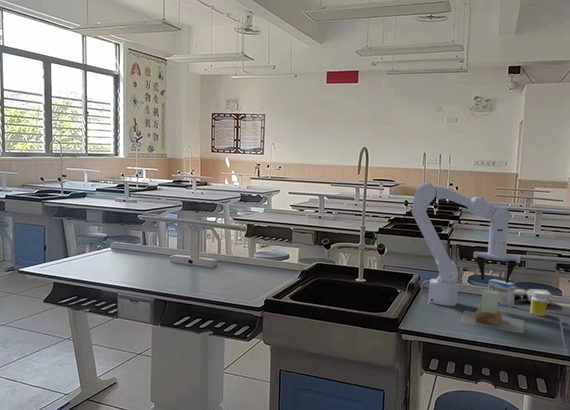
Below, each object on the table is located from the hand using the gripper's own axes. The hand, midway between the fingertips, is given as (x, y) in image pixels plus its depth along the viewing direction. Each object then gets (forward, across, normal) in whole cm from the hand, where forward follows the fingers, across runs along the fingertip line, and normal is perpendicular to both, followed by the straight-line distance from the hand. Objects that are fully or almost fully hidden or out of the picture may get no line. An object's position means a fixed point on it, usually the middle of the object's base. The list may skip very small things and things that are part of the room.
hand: (494, 280), depth 168 cm
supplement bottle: (+11, +14, +1) cm, 17 cm away
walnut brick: (+9, 0, -16) cm, 19 cm away
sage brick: (+6, 0, -16) cm, 17 cm away
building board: (+10, +1, -16) cm, 19 cm away
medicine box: (+11, +2, +9) cm, 14 cm away
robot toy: (+11, +11, +20) cm, 25 cm away
